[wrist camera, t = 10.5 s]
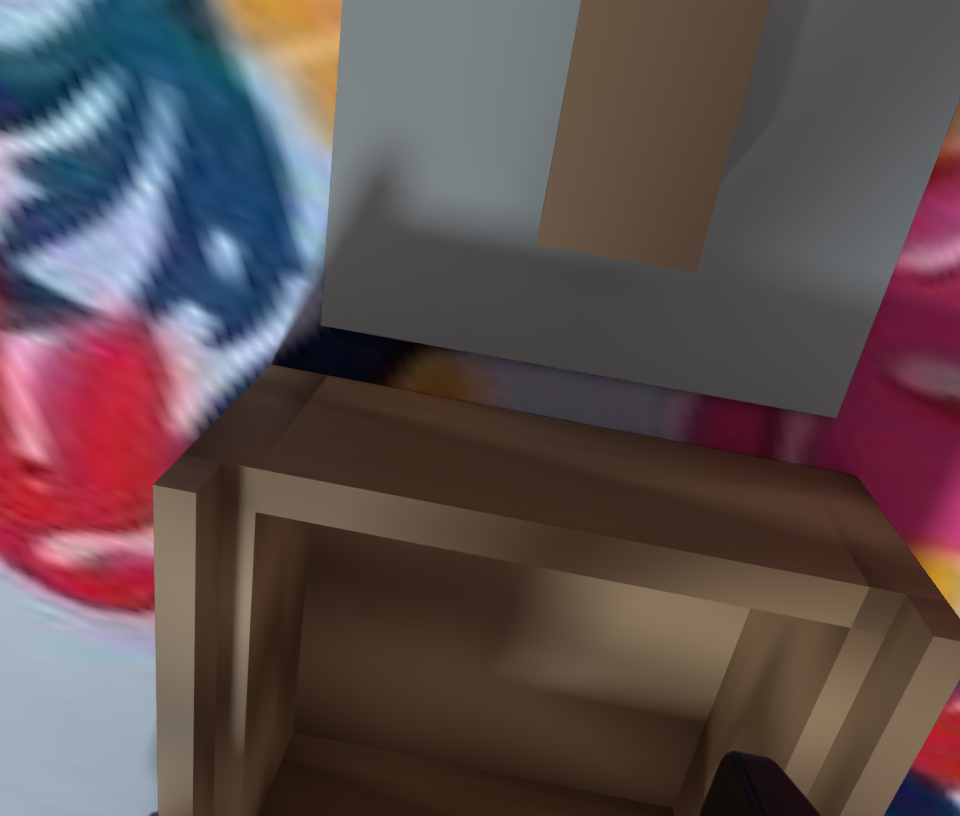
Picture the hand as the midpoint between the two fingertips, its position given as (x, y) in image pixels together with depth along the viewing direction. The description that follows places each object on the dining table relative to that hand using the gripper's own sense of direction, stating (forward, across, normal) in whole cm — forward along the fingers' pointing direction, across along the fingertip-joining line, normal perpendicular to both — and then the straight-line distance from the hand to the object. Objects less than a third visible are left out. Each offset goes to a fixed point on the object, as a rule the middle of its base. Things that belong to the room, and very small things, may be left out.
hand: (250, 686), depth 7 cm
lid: (+13, -4, -6) cm, 14 cm away
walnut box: (+13, -4, +8) cm, 16 cm away
